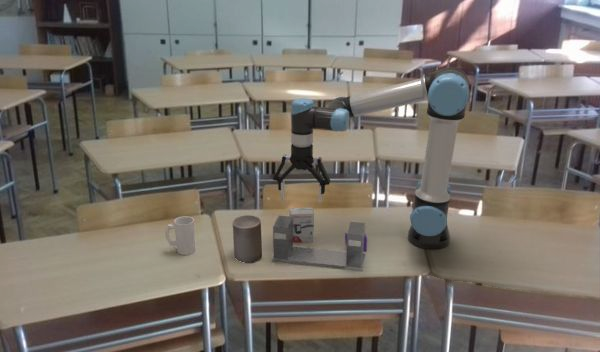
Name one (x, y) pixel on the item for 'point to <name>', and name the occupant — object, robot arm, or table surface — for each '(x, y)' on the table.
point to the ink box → (302, 224)
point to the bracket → (364, 241)
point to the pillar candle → (247, 238)
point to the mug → (183, 235)
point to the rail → (318, 257)
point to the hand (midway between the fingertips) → (301, 200)
